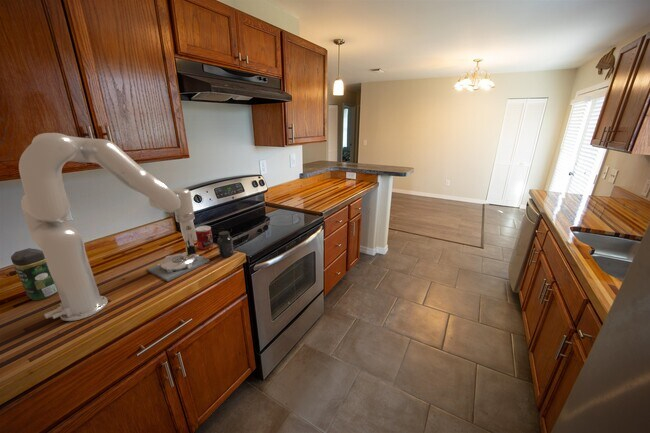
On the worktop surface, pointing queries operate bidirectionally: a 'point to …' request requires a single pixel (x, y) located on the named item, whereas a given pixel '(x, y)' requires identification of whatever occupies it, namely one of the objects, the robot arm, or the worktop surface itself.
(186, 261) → the silver shallow bowl
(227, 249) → the supplement bottle
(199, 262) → the base plate
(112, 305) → the worktop surface
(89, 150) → the robot arm
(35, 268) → the coffee jar
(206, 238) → the canned food
